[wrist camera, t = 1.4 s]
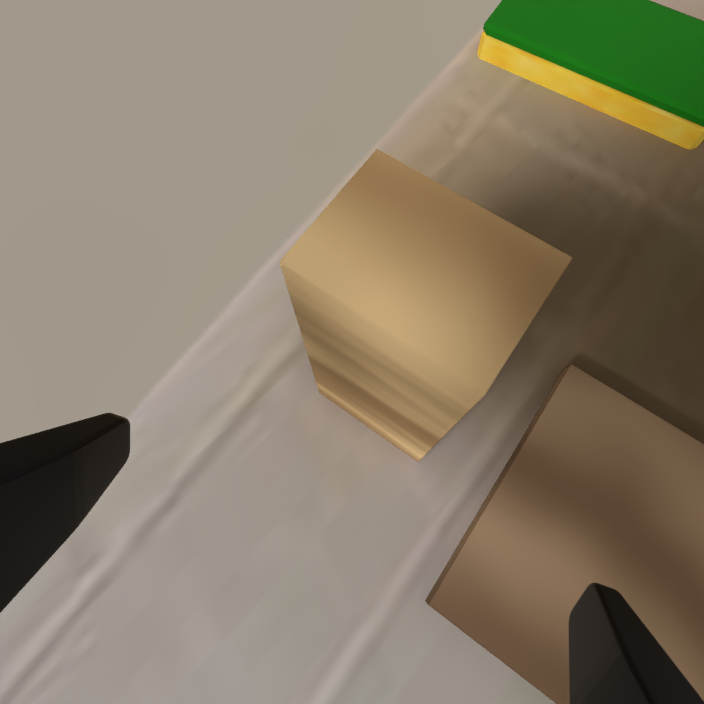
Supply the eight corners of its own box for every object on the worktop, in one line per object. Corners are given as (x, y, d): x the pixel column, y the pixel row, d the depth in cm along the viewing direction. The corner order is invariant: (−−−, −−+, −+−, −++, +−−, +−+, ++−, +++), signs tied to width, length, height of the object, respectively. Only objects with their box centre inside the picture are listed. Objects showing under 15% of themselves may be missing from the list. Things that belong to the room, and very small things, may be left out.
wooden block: (418, 461, 21) (485, 394, 10) (319, 392, 22) (279, 261, 11) (470, 382, 23) (582, 242, 11) (374, 320, 24) (388, 136, 12)
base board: (710, 820, 17) (731, 838, 16) (425, 600, 19) (428, 604, 19) (819, 527, 20) (842, 528, 19) (562, 370, 23) (571, 364, 22)
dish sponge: (689, 157, 27) (719, 124, 25) (472, 62, 30) (482, 24, 28) (729, 78, 29) (761, 40, 27) (523, -5, 32) (536, -46, 30)
